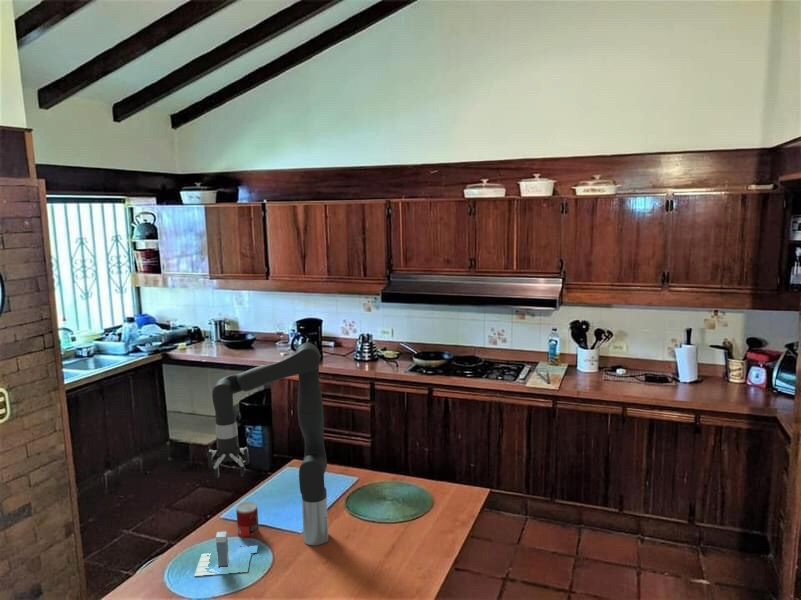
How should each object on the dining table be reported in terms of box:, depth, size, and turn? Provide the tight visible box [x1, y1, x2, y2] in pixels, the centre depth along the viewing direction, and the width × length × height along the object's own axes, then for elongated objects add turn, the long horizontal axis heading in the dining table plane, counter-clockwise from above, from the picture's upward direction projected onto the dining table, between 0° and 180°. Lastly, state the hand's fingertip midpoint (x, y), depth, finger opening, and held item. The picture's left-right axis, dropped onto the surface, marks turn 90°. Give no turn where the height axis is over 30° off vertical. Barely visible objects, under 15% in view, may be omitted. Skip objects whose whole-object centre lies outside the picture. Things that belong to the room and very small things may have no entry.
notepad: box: [193, 552, 219, 578], centre depth 213 cm, size 18×13×1 cm
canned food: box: [235, 501, 260, 539], centre depth 232 cm, size 8×8×11 cm
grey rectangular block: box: [215, 530, 229, 568], centre depth 210 cm, size 3×3×12 cm
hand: (229, 476), depth 219 cm, fingers open, 8 cm apart
